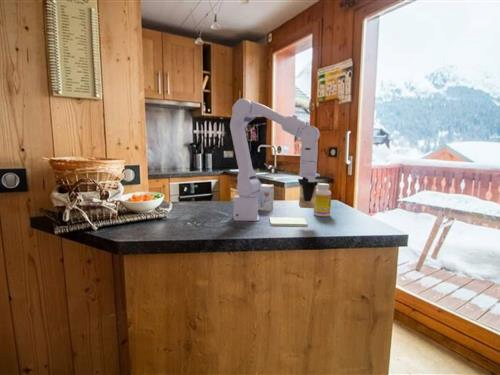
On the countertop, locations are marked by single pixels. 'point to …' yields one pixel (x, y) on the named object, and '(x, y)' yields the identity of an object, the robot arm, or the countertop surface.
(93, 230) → the countertop surface
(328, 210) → the supplement bottle
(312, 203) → the beech block
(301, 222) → the sage board
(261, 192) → the light bulb box
